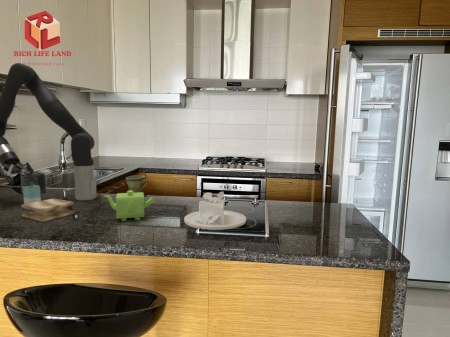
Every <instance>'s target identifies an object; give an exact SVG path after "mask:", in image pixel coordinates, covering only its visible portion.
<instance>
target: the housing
mask: <svg viewBox="0 0 450 337" xmlns="http://www.w3.org/2000/svg"><path fill="white" fill-rule="evenodd" d="M22 195H23V204H28V203H33V202H38V201H42V200H41V199H42V198H41V193H40V186H37V185H30V186H24V187H23V194H22ZM25 209H26V210H30V211H31V209H27V208H24V210H25Z"/></svg>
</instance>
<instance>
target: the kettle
mask: <svg viewBox="0 0 450 337" xmlns="http://www.w3.org/2000/svg"><path fill="white" fill-rule="evenodd" d="M103 197H104V198H106V199H107V200H108V201H109V204H110V206H111V209H113V210H114V211H116V212H115V215H116V220H117V219H118V220H119V219H120V221H121V222H126V221H128V219H130V218H131V219H133V218H134V220H135V221H141V218H144V217H145V209H146V208H147V207H149V206H150V205H152V204H153V203H155V199H154V197H152V196H151V197H150V198H148V199H147V200H146V201H145V195H144V191H143V192H139V193H133V191H132V190H129V189H128V190H127V191H126V192H122V193H121V192H120V193H116V197H115V202H114V200H113V198H112V197H111V195H108V194H107V195H103Z"/></svg>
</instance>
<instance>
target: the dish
mask: <svg viewBox="0 0 450 337" xmlns="http://www.w3.org/2000/svg"><path fill="white" fill-rule="evenodd" d="M224 196H225V193H224V191H219V192H218V194H217V196H213V193H212V192H204V194H203V195H202V198H203V199H205V200H199V201H198V211H194V212H191V213H189V214H188V213H187V214H186V215H185V216H184V218H183V221H184V224H185V225H187V226H188V227H192V228H195V229H199V228H201V229H200V230H206V229H207V230H208V231H223V230H231V229H236V228H239V227H241V226H243V225H245V224H246V222H247V217H246V216H245V215H244V214H242V213H241V212H237V211H232V210H225V199H223V198H224ZM207 230H206V231H207Z"/></svg>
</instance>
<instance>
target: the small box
mask: <svg viewBox="0 0 450 337" xmlns="http://www.w3.org/2000/svg"><path fill="white" fill-rule="evenodd" d="M45 175H46V174H45V173H33V174H32V177H33V178H34V179H33V181H32V182H30V181H29V180H28V178H27V176H26V175H24V174H23V175H22V174H20V175H19V177H20V189H21V190H20V191H21V194H22V195H23V187H24V186H30V185H37V186H40V194H43V193H46V192H47V191H46V190H47V189H46V176H45Z"/></svg>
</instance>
